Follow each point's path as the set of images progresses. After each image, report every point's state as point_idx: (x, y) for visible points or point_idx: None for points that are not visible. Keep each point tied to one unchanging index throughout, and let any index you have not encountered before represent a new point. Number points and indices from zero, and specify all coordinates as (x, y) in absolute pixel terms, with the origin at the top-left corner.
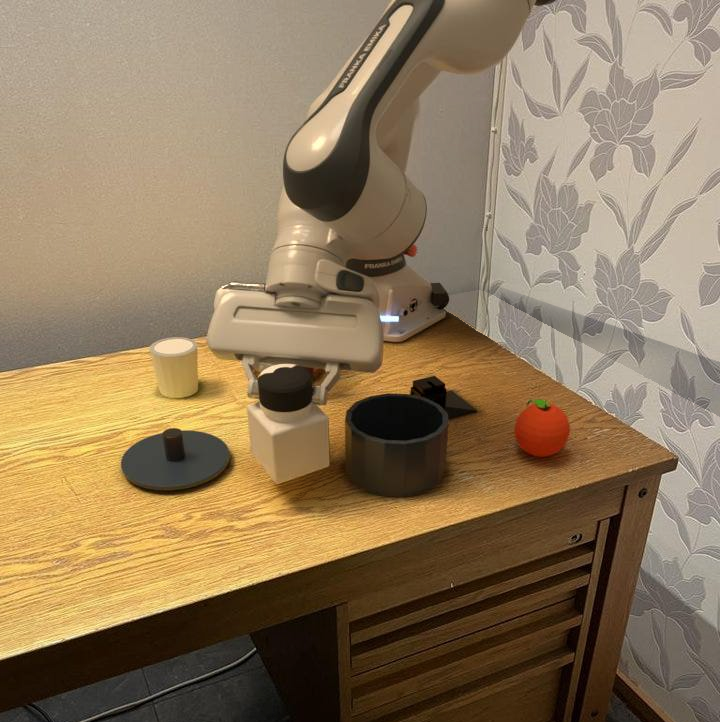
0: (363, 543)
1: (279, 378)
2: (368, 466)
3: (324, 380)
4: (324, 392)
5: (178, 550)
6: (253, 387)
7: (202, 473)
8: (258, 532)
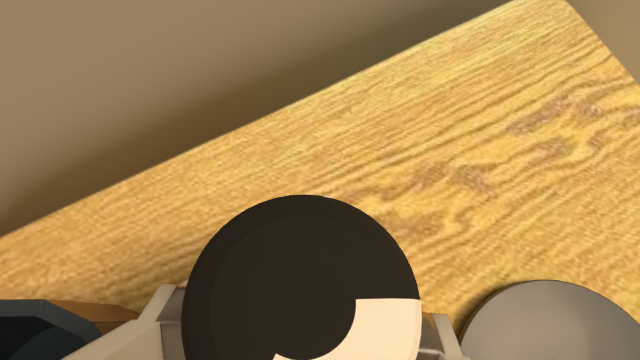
0: (172, 169)
1: (318, 247)
2: (124, 318)
3: (131, 337)
4: (149, 301)
5: (446, 140)
6: (431, 328)
7: (487, 333)
8: (340, 186)
